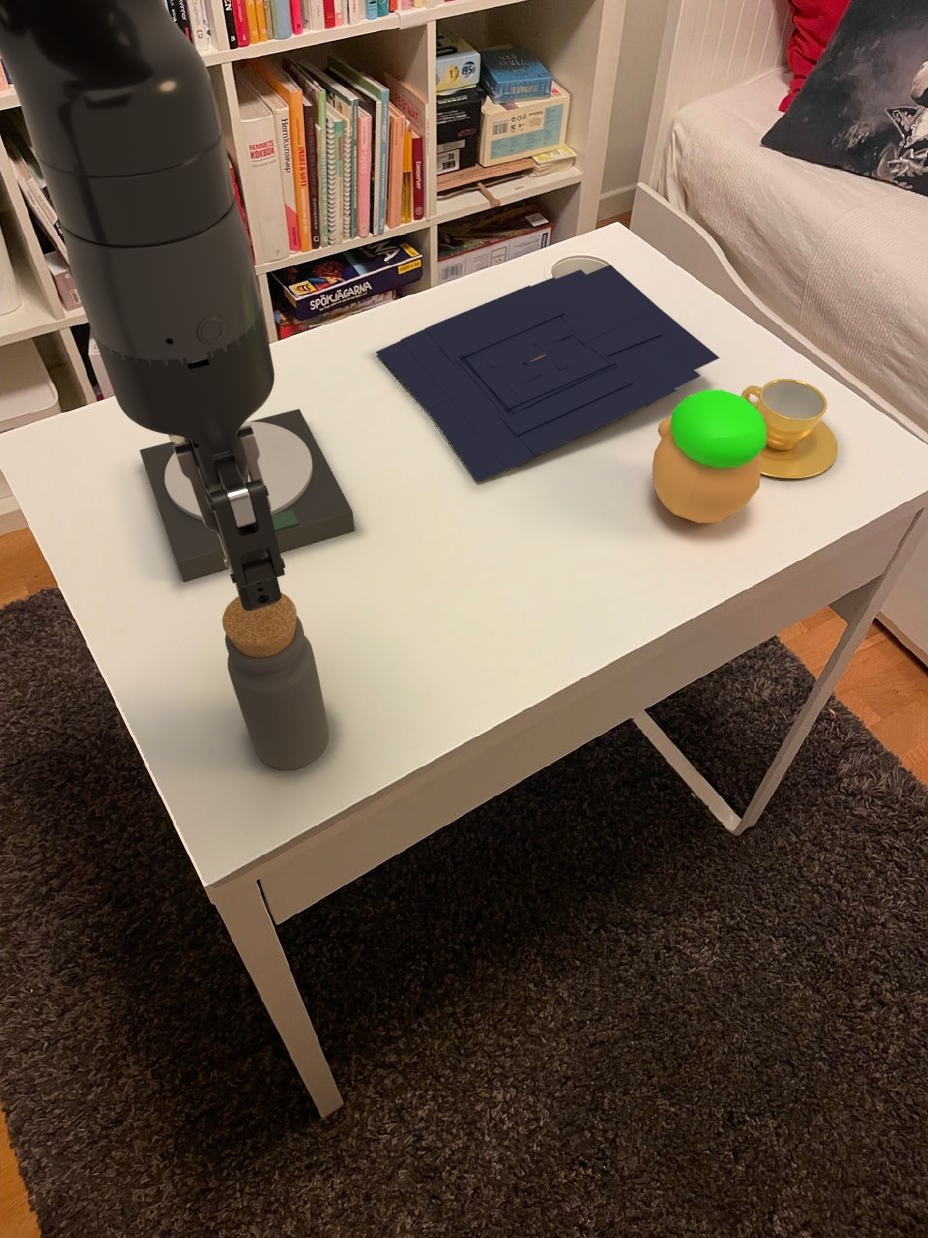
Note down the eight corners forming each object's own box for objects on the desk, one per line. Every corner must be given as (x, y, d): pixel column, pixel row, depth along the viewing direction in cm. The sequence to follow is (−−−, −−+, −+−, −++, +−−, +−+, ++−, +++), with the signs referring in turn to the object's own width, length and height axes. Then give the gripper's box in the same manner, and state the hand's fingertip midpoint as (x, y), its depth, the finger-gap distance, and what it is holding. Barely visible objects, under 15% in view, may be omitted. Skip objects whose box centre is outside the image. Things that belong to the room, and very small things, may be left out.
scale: (183, 582, 79) (174, 558, 76) (146, 469, 88) (137, 444, 85) (355, 530, 83) (352, 506, 80) (302, 427, 92) (298, 403, 89)
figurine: (764, 531, 83) (804, 430, 74) (670, 552, 82) (699, 451, 72) (709, 454, 90) (739, 352, 81) (621, 472, 88) (641, 370, 79)
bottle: (237, 738, 69) (194, 617, 57) (295, 692, 71) (266, 567, 60) (286, 785, 66) (252, 668, 55) (344, 736, 69) (324, 614, 57)
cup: (857, 438, 92) (876, 395, 88) (801, 498, 86) (819, 455, 82) (754, 389, 97) (768, 346, 93) (695, 443, 91) (707, 400, 87)
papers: (727, 388, 95) (732, 360, 92) (481, 502, 89) (478, 476, 86) (600, 277, 108) (601, 249, 105) (378, 370, 102) (372, 343, 99)
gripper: (63, 243, 43) (152, 491, 55) (119, 419, 35) (208, 662, 47) (218, 213, 45) (269, 459, 57) (304, 373, 37) (342, 618, 49)
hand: (241, 551), depth 52 cm, fingers open, 8 cm apart
